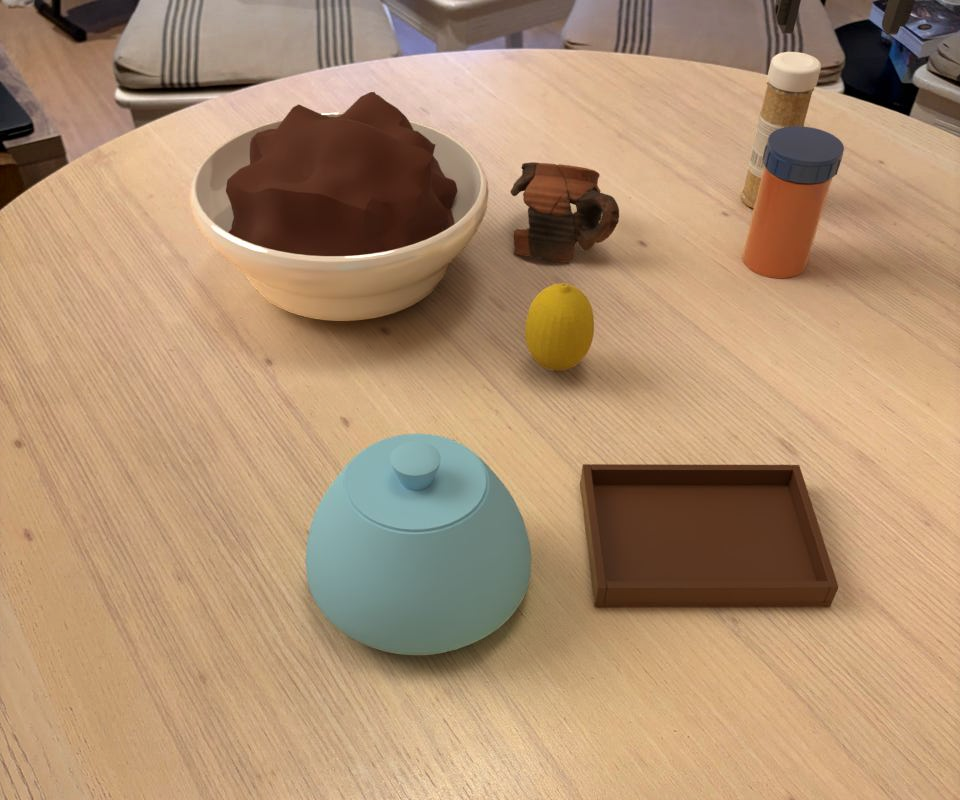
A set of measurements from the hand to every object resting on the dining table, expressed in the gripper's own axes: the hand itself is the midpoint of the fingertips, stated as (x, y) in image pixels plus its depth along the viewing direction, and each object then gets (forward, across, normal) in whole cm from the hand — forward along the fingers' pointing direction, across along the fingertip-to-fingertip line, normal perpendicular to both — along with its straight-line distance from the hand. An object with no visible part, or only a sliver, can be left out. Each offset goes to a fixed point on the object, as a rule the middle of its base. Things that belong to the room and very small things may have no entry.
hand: (836, 30), depth 81 cm
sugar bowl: (+20, +33, +41) cm, 56 cm away
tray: (+20, +13, +37) cm, 44 cm away
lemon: (+20, +22, +17) cm, 34 cm away
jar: (+20, 0, 0) cm, 20 cm away
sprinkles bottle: (+20, -1, -11) cm, 23 cm away
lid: (+9, 0, 0) cm, 9 cm away
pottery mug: (+20, +20, -3) cm, 29 cm away
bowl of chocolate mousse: (+20, +40, +4) cm, 45 cm away
